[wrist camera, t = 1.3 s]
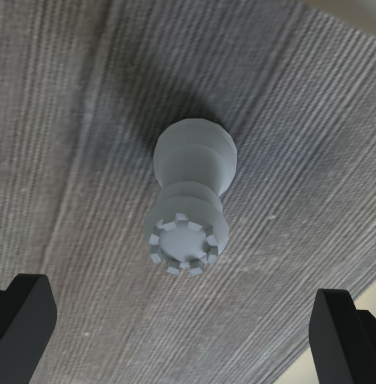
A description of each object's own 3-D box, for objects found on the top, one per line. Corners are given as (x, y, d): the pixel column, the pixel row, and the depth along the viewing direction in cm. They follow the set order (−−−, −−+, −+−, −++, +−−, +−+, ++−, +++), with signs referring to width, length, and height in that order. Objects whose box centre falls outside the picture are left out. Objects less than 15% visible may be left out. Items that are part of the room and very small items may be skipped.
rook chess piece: (145, 124, 19) (102, 207, 12) (229, 106, 18) (235, 185, 11) (167, 195, 21) (141, 300, 14) (243, 182, 20) (255, 287, 13)
